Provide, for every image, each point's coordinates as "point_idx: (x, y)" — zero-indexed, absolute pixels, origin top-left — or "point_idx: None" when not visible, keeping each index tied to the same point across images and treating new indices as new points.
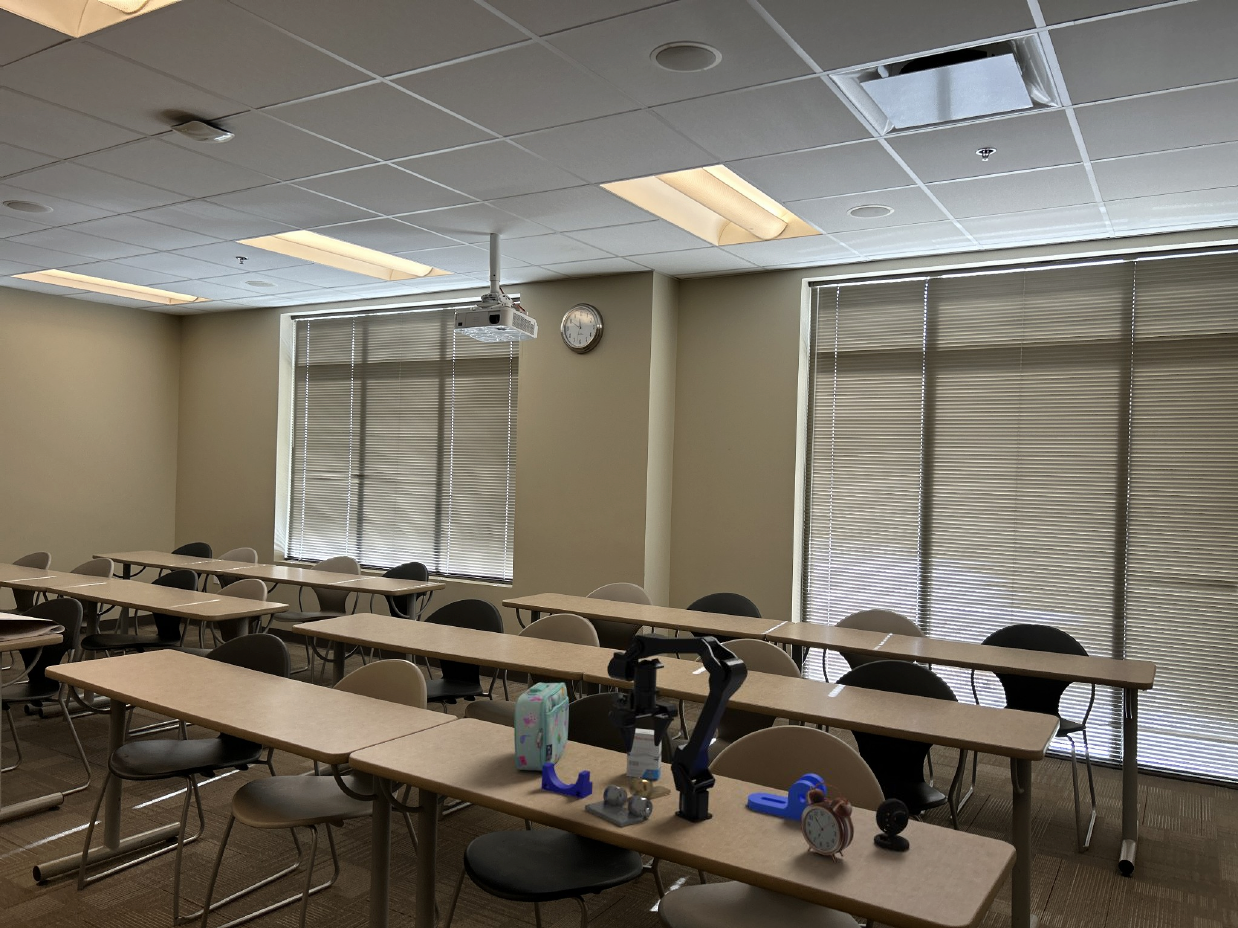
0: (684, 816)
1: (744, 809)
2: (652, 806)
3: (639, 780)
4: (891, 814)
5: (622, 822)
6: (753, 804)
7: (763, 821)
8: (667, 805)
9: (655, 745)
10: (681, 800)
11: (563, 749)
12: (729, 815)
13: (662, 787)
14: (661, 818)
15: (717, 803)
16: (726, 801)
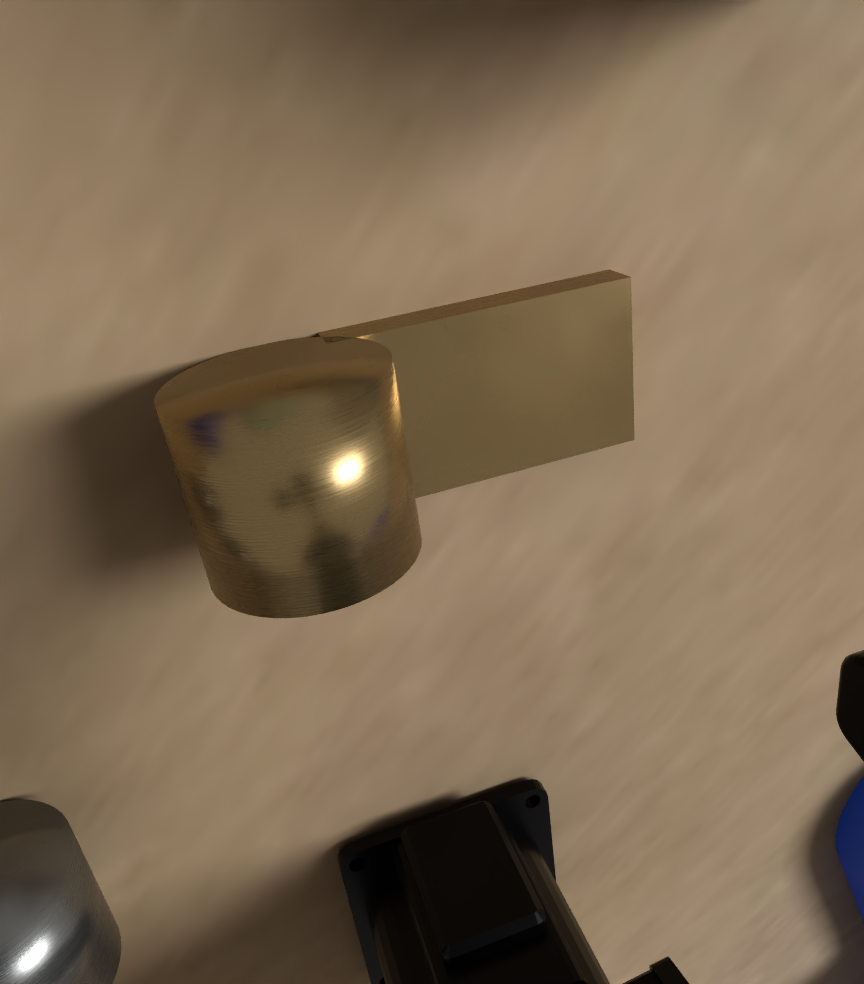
0: (358, 933)
1: (800, 822)
2: (117, 958)
3: (277, 520)
4: None
5: None
6: (860, 853)
7: (739, 971)
8: (404, 672)
9: (844, 680)
10: (418, 933)
11: None
12: (657, 890)
13: (611, 348)
14: (191, 893)
15: (752, 711)
16: (826, 691)
